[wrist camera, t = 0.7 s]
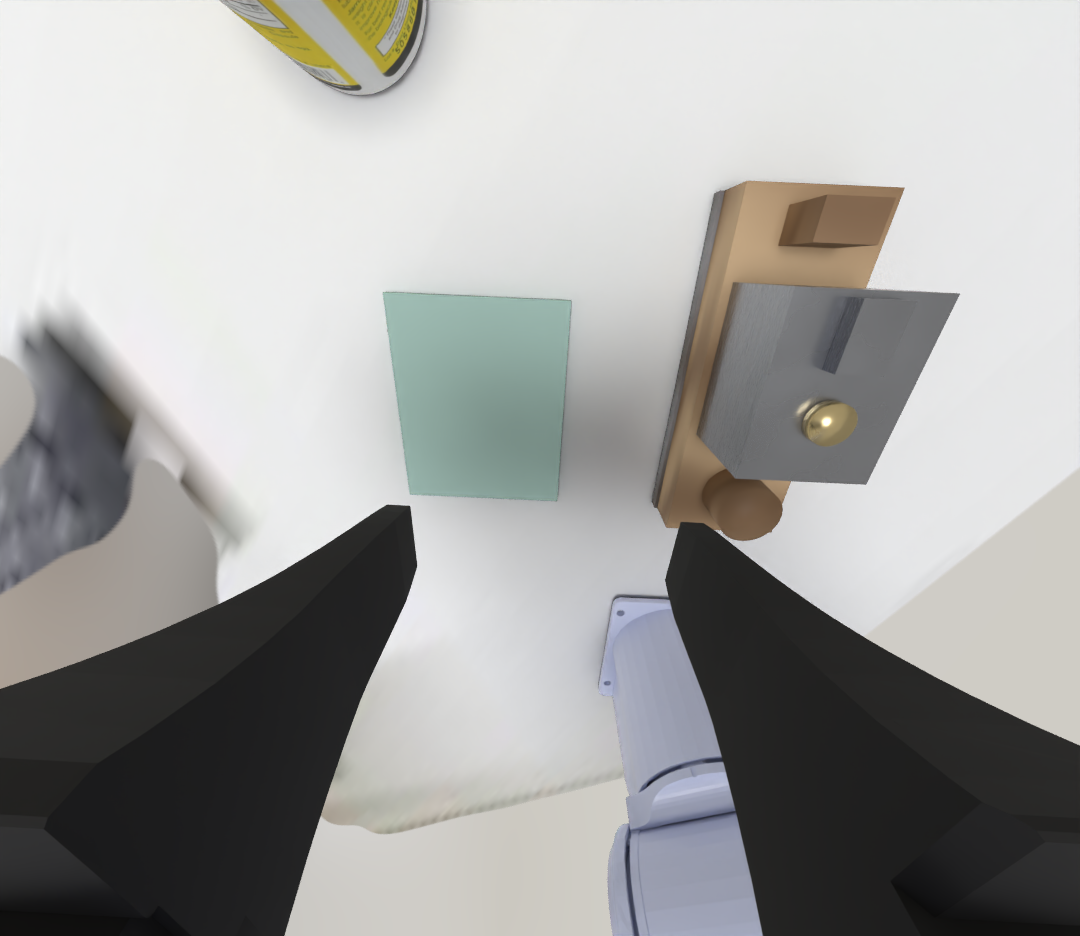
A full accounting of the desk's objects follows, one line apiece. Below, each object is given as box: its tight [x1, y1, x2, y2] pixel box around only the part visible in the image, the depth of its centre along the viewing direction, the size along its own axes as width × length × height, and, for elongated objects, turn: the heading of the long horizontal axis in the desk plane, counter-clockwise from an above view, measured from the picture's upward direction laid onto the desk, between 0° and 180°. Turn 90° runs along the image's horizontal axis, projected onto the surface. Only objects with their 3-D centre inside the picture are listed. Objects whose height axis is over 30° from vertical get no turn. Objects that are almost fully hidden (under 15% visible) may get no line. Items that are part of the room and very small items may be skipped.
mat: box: [383, 292, 571, 501], centre depth 19 cm, size 10×8×1 cm
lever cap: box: [696, 282, 960, 485], centre depth 13 cm, size 6×4×5 cm
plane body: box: [652, 181, 904, 541], centre depth 16 cm, size 14×6×4 cm, turn 178°
